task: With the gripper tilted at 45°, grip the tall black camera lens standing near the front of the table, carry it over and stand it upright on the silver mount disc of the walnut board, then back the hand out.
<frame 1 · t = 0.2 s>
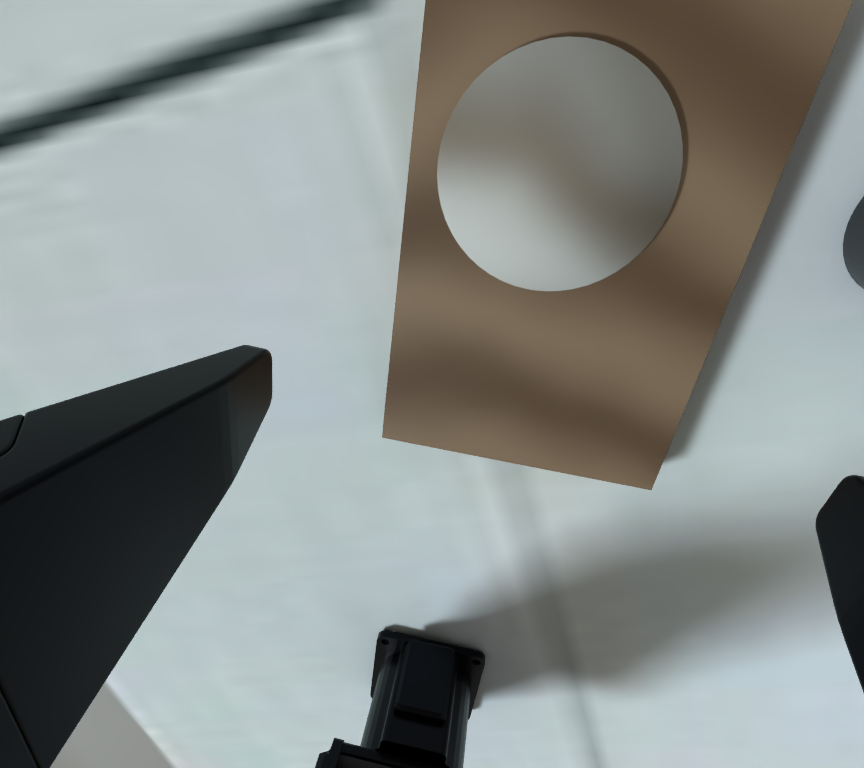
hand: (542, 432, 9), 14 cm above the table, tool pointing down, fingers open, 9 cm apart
mount board: (561, 255, 22), on the table
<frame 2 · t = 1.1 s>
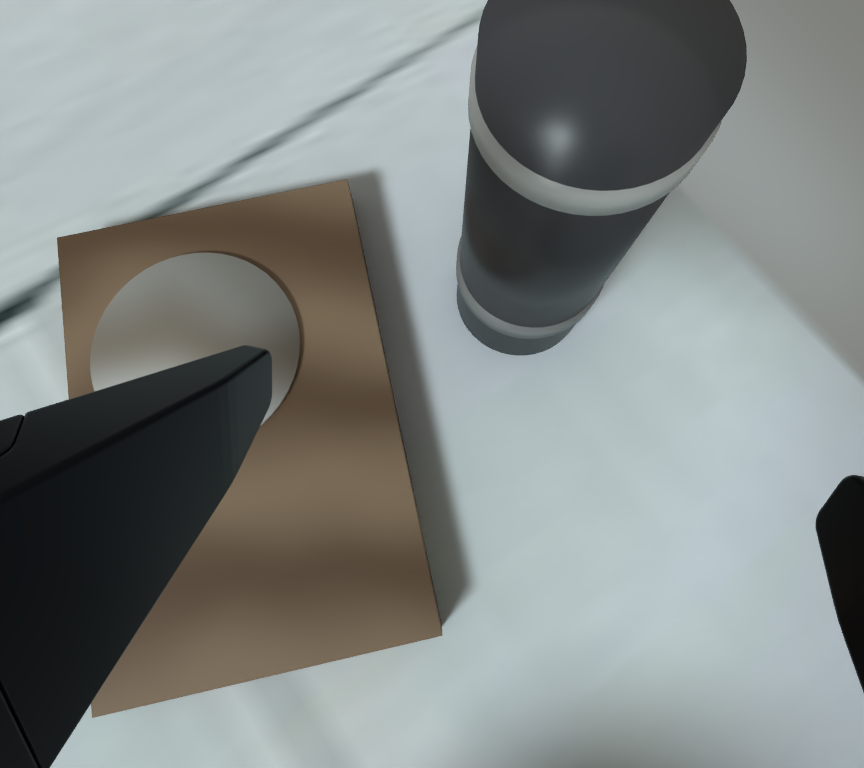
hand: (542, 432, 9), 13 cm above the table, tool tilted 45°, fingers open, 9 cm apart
mount board: (246, 425, 22), on the table
lens: (518, 295, 24), on the table
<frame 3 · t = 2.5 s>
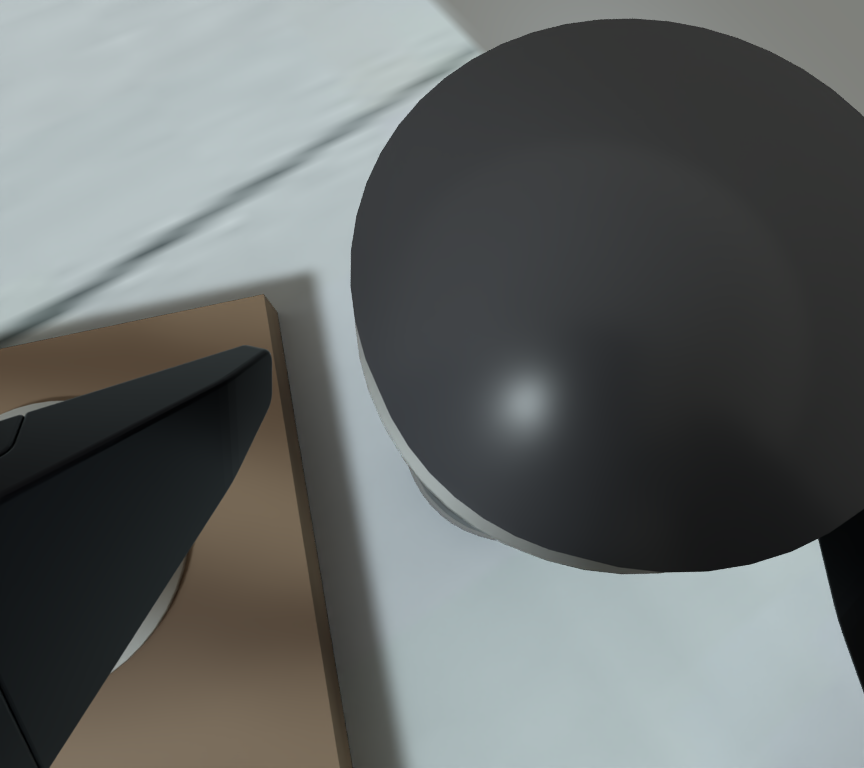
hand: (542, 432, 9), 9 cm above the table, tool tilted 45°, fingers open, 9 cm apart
mount board: (120, 638, 16), on the table
lens: (495, 448, 18), on the table
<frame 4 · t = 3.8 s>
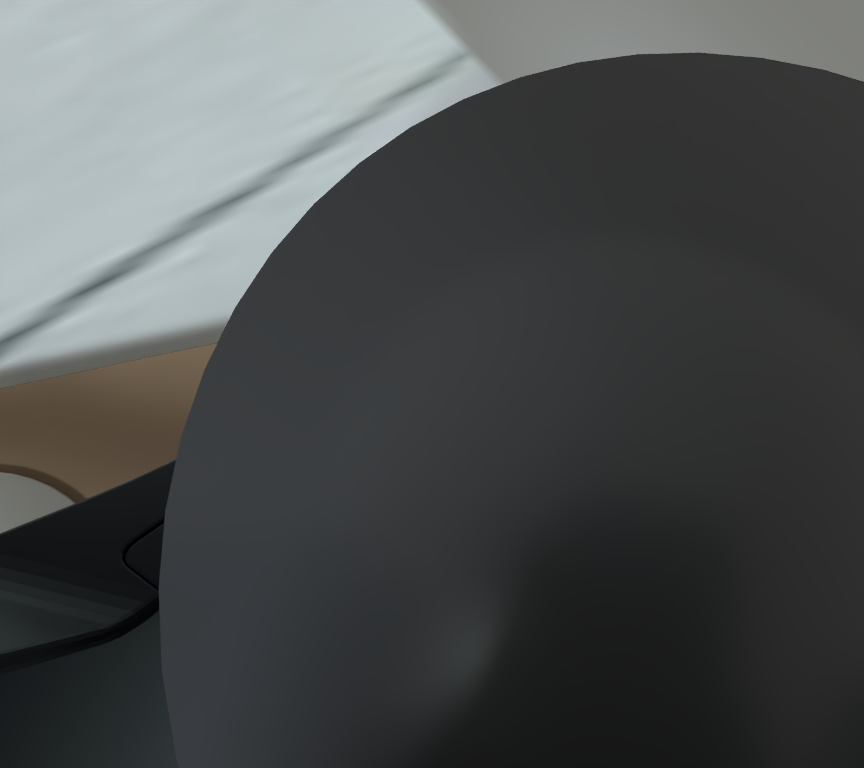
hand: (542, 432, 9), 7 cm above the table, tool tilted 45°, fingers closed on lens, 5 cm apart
mount board: (49, 746, 14), on the table
lens: (487, 519, 15), on the table, touching gripper
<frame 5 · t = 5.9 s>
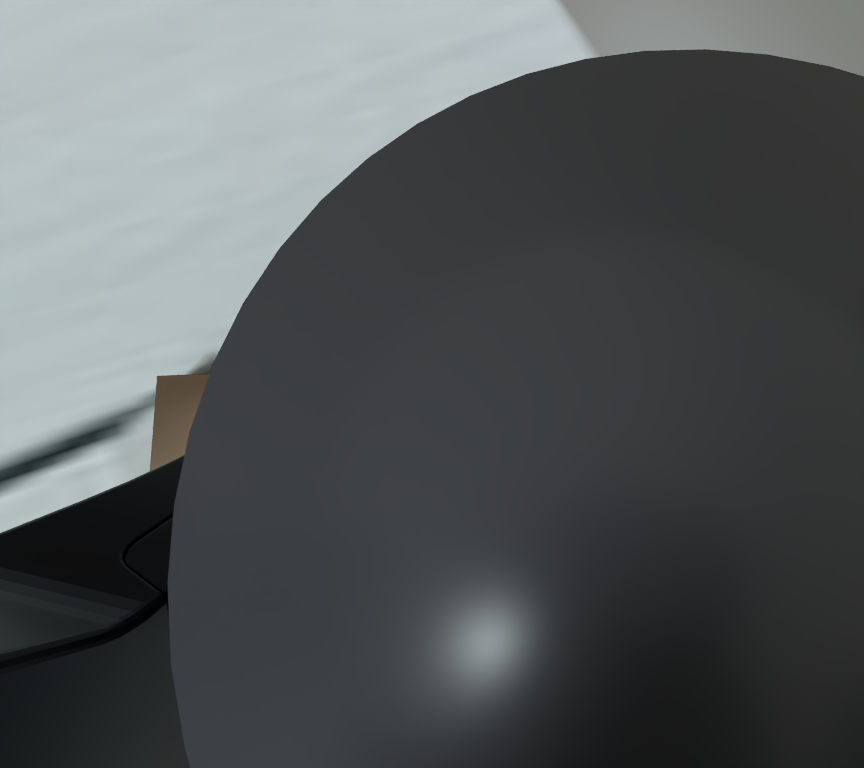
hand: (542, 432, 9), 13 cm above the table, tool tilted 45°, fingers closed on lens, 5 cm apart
mount board: (321, 616, 21), on the table
lens: (488, 518, 15), point 6 cm above the table, touching gripper
when the fingers open (10 cm above the table, at t = 8.0 s): lens drops 1 cm, resting on mount board.
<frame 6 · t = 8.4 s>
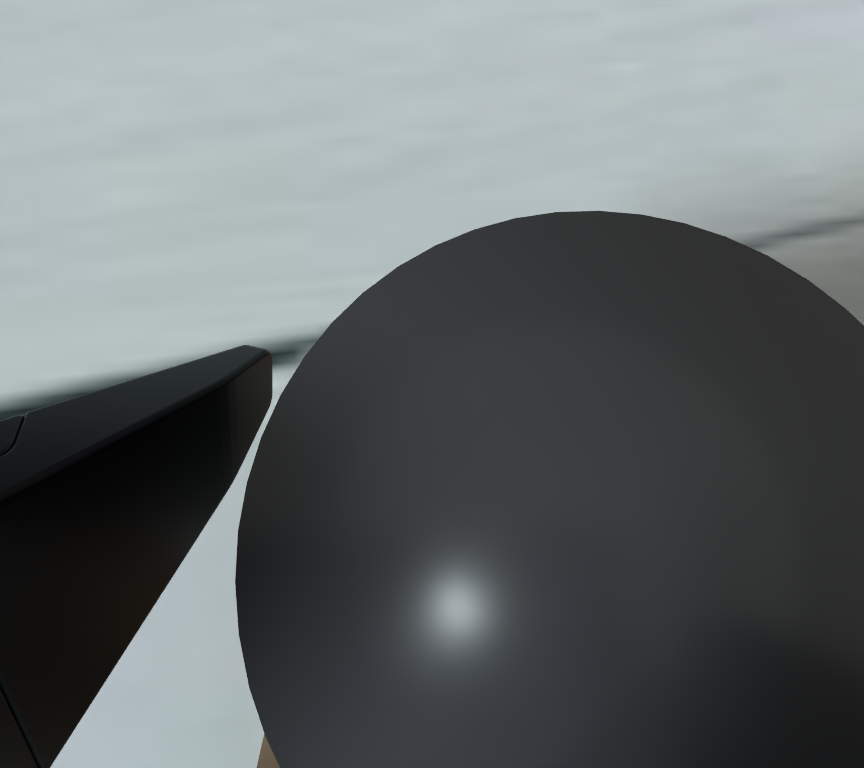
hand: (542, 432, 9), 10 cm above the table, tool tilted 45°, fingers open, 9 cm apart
mount board: (494, 621, 18), on the table
lens: (482, 523, 17), point 2 cm above the table, touching mount board
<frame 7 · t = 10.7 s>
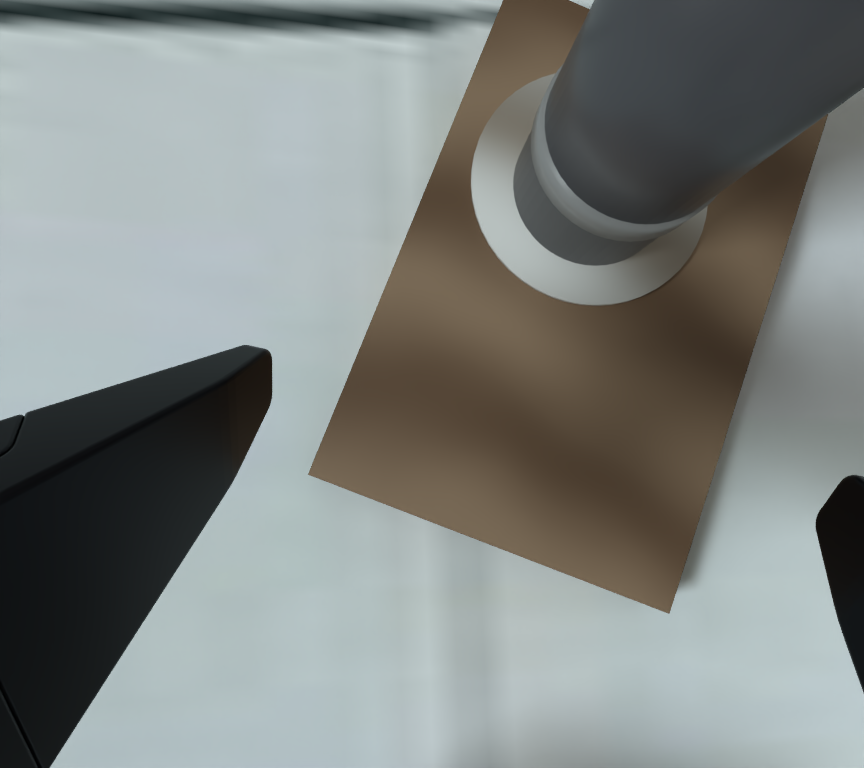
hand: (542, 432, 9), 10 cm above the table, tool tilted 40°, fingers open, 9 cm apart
mount board: (572, 292, 20), on the table
lens: (591, 188, 18), point 2 cm above the table, touching mount board
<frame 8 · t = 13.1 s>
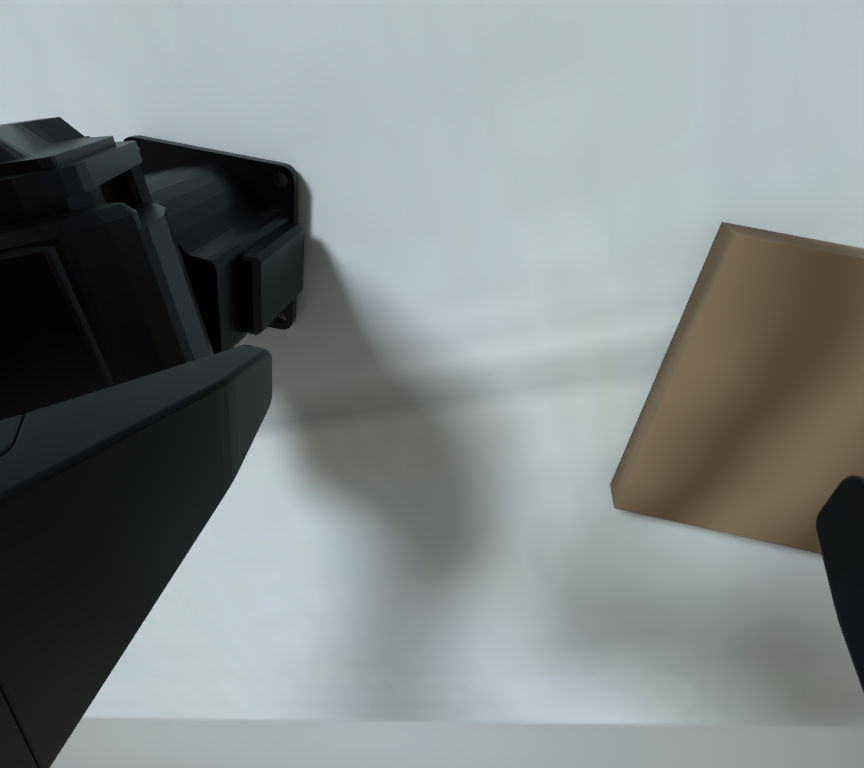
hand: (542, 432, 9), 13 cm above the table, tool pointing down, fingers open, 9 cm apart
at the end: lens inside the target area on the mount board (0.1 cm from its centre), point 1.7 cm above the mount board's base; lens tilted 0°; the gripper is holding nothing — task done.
